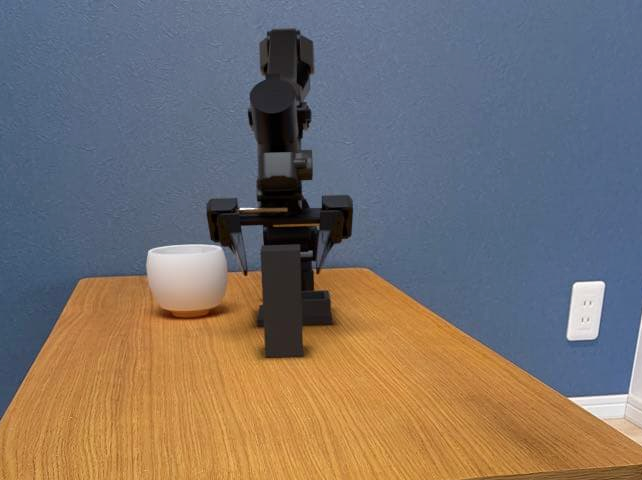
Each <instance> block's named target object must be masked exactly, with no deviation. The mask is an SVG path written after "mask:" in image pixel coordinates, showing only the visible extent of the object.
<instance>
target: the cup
mask: <svg viewBox="0 0 642 480" xmlns="http://www.w3.org/2000/svg"><path fill="white" fill-rule="evenodd" d="M145 267H146V277H147V283H148V286H149V288H150V289H149V290H150V291H151V294H152V296H153V299H154V301H155V302H156V303H157V305H158V306H159V307H160V308H161V309H163V310H165V311H169V312H170V313H172V316H173V317H176V318H184V319H186V318H187V319H189V318H199V317H204V316H207V315H208V314H210V310H212V309H214V308H216V307H218V306H219V305H220V304H221V303H222V301H223V299H224V297H225V295H226V291H227V287H228V282H229V274H228V261H227V258H226V255H225V252H224V249H223V248H222V246H221V245H220V246H219V245H214V244H203V243H201V244H200V243H199V244H198V243H197V244H191V243H190V244H173V245H165V246H159V247H154V248H151V249H149V250H148V251H147V257H146V264H145Z"/></svg>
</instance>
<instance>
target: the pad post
mask: <svg viewBox="0 0 642 480" xmlns="http://www.w3.org/2000/svg"><path fill="white" fill-rule="evenodd" d="M259 253H260V270H261V291H262V293H261V294H262V305H263V315H264V326H263V331H264V332H263V333H264V334H263V335H264V355H265V358H267V359H269V358H300V357H301V358H303V357H304V334H303V329H304V328H303V325H302V293H301V257H300V253H301V252H300V245H299V244H296V245H264V244H262V245H261V247H260V252H259Z"/></svg>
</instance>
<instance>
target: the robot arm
mask: <svg viewBox="0 0 642 480" xmlns="http://www.w3.org/2000/svg"><path fill="white" fill-rule="evenodd" d="M301 32H302V31H301V29H297V28H296V27H292V28H291V27H290V28H271V29H270V30H267V31H266V37H265V38H263V39H262V40H261V41H260V42H259V43H258V46H259V49H258V50H259V70H260V73H261V76H262V77H264V79H263V80H261V81H259V82H258V83H256V84H255V85H254V86H253V87H252V89H251V90H250V92H249V103H250V105H249V107H248V108H247V118H248V125H249V127H250V129H251V131H252V132H253V135H254V139H255V141H256V143H257V146H256V148H257V179H256V182H255V183H256V187H255V188H256V202H257V206H256V207H239V202H238V197H211V198H210V199H209V200H208V201H207V203H206V207H205V208H206V209H205V210H206V220H207V224H208V231H209V237H210V238H209V239H210V241H212V242H214V243H216V244H217V243H219V244H220V247H223V248H228V249H229V251H230V252H231V253H232V254H233V256H234V257H235V259H236V261H237V264H238V265H239V267H240V269H241V272H242V274H243V276H244V277H248V272H249V271H248V261H247V255H246V248H245V243H244V236H243V230H242V227H243V226H244V227H246V226H247V227H250V226H253V227H254V226H262V241H263V245H296V244H299V245H300V257H301V291H315V274H316V275H320V274H321V271H322V269H323V267H324V263H325V261H326V259H327V257H328V255H329V254H330V251H331V250H332V248H333V247H334V246H335V245H339V244H341V243H342V241H343V240H348V239H349V238H351V237H352V235H353V234H352V233H353V219H354V218H353V217H354V201H353V198H352V197H351V196H350V195H349V194H322V195H321V207H310V205H309V203H308V200H307V199H306V198H305V197H304V195H303V183H302V182H303V181H313V178H314V177H313V176H314V168H313V167H314V166H313V163H314V162H313V150H312V149H302V139H303V138H304V131H308V130H309V129H310V124H311V122H312V121H313V112H312V109H311V108H310V107H309V105H308V101H305V100H306V98H307V97H308V95H309V93H310V91H311V75H315V46H314V41H313V40H311V39H310V38H308V37H306V36H304V35H302V33H301ZM313 262H315V271H314V269H313ZM315 272H316V273H315Z"/></svg>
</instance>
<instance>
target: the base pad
mask: <svg viewBox="0 0 642 480" xmlns="http://www.w3.org/2000/svg"><path fill="white" fill-rule="evenodd" d="M301 293H302V326H319V325H321V326H322V325H325V326H326V325H333V314H332V303H331V302H332V300H331V295H330V290H328V289H326V290H325V289H324V290H314V291H301ZM257 311H258V312H257V318H256V327H264V315H263V304H259V305H258V310H257Z"/></svg>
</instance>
